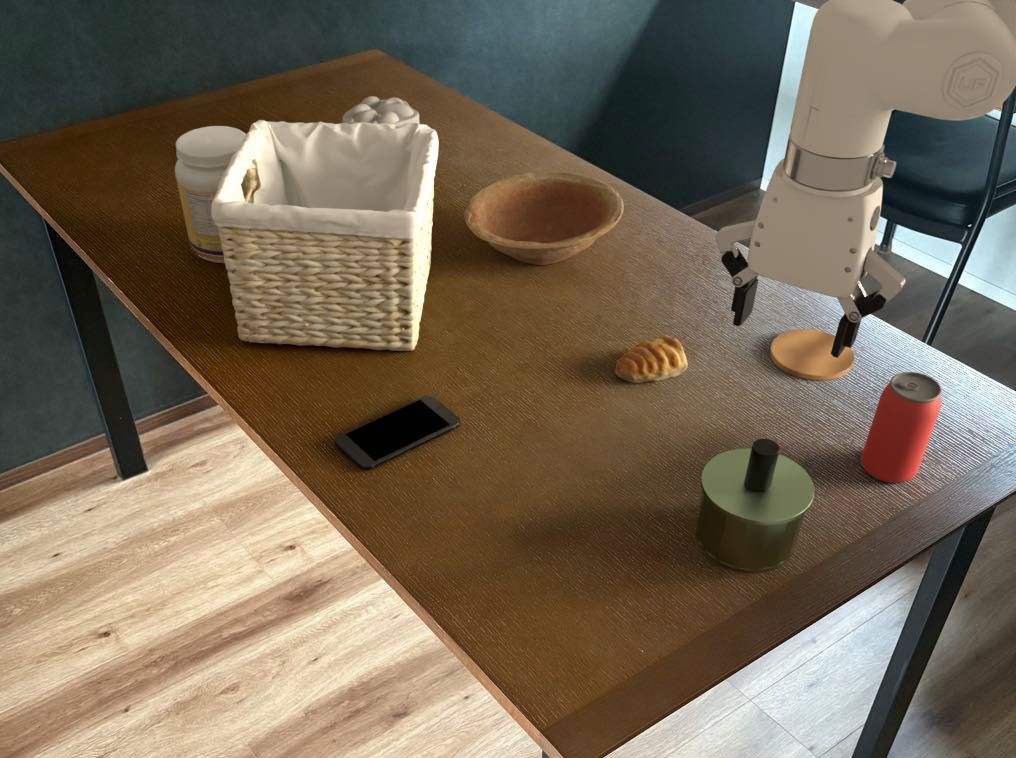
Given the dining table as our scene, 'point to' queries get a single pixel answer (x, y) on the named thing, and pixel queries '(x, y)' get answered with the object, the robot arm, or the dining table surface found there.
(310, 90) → the dining table surface
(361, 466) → the smartphone
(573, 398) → the dining table surface
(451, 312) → the dining table surface
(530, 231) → the bowl
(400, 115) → the lumpy-topped squat cylinder
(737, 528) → the pot
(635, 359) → the pastry
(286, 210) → the basket
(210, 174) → the supplement tub
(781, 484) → the pot lid
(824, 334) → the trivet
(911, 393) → the beer can
